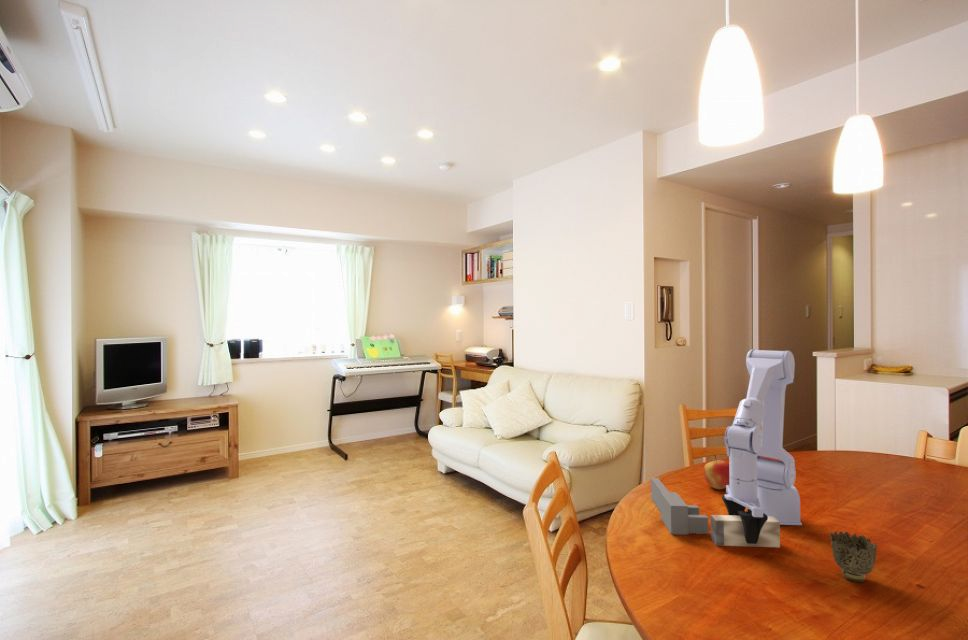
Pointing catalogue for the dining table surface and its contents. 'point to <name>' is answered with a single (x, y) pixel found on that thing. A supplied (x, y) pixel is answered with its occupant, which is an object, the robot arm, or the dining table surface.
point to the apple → (717, 474)
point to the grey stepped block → (677, 511)
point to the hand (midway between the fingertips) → (743, 535)
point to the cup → (853, 555)
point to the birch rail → (732, 532)
